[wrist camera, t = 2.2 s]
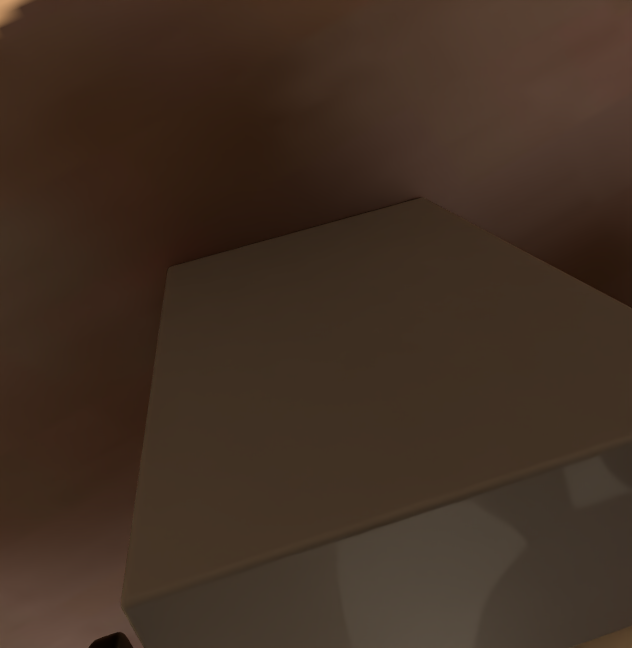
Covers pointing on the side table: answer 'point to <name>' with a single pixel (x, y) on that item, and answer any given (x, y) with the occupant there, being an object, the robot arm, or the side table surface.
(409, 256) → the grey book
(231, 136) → the side table surface
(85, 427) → the side table surface
